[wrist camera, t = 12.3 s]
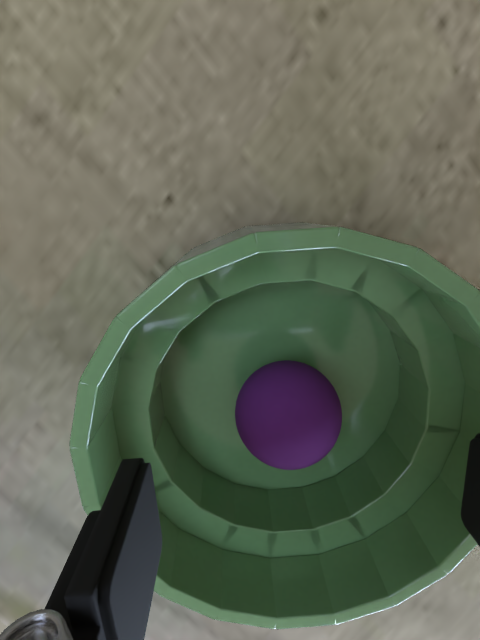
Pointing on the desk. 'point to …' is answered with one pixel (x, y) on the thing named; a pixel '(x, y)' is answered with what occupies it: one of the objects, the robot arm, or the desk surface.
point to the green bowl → (320, 478)
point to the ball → (288, 415)
